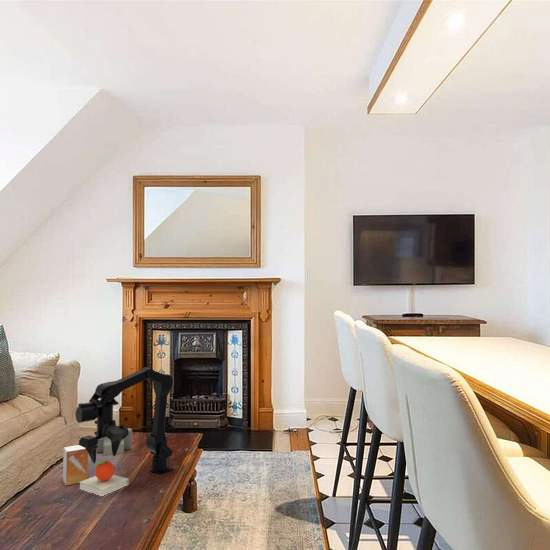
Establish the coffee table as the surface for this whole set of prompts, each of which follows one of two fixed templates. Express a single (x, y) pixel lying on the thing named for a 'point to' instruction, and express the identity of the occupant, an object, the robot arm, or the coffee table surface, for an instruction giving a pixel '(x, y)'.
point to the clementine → (104, 470)
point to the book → (103, 485)
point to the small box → (75, 464)
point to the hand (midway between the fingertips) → (104, 459)
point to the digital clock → (107, 448)
